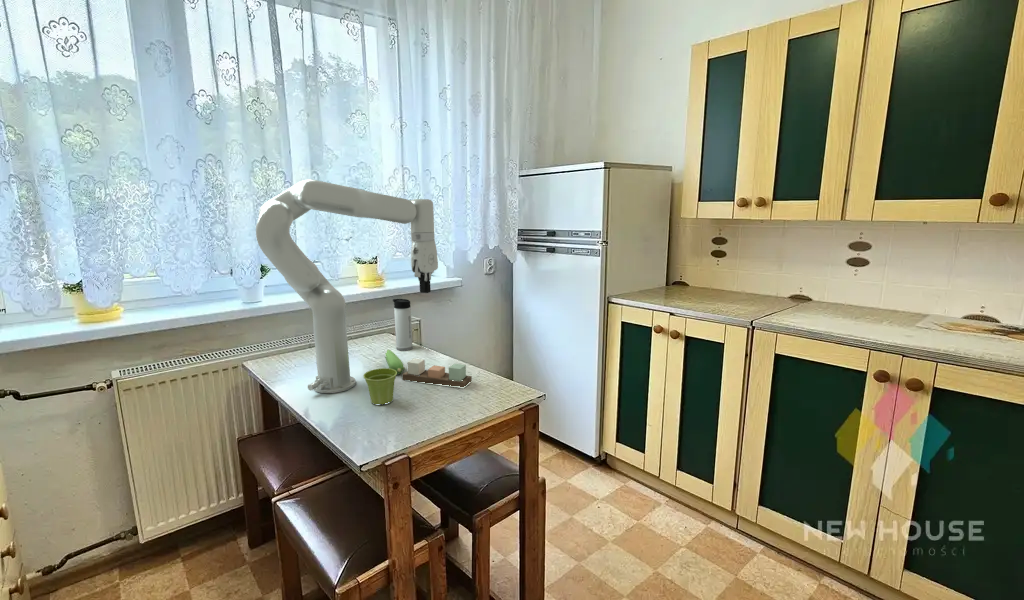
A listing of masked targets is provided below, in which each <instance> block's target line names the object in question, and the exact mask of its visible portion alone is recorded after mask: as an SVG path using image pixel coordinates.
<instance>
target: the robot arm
mask: <svg viewBox="0 0 1024 600" xmlns="http://www.w3.org/2000/svg"><path fill="white" fill-rule="evenodd" d="M311 210H313V211H319V212H325V213H330V214H335V215H336V214H338V215H342V216H348V217H354V218H364V219H365V218H366V219H374V220H382V221H388V222H393V223H396V224H397V223H398V224H403V225H405V224H406V225H407V224H410V237H411V238H410V241H411V249H410V250H411V251H410V266H411V271H412V273H414V275H413V277H415V278H417V279H418V282H419V292H420V294H421V293H423V294H424V293H425V294H429V293H431V291H432V289H431V280H432V274H433V273H435V271H437V270H438V268H439V261H438V251H437V245H436V240H435V217H434V215H435V214H434V212H435V211H434V202H433V200H432V199H425V198H424V199H423V198H420V199H419V198H417V199H416V198H415V199H412V200H411V199H407V198H403V197H397V196H393V195H388V194H383V193H379V192H378V193H376V192H372V191H368V190H365V189H361V188H358V187H357V188H356V187H353V186H347V185H342V184H336V183H333V182H326V181H322V180H316V179H302V180H300V181H298V182H296V183H295V184H294V185H292V186H291V187H289V188H287V189H286V190H284V191H283V192H281V193H280V194H278V195H276V196H274V197H273V198H271V199H268V200H267V201H265V202H264V203H263V204H262V205H261V206H260V208H259V209H258V219H257V222H256V225H255V235H256V237H255V238H256V241H257V243H258V246H259V248H260V250H261V251H262V253H263V254H264V256H265V257H266V258H267V259H268V260H269V261H270V262H271V264H272V265H273V266H274V267H275V269H276V270H277V271H278V272H279V273H280V274H281V276H282V277H284V279H285V281H286V282H287V284H288V285H289V286H290V287H291V288H292V289H293V290H294V291H295V292H296V294H298V296H300V298H302V300H303V301H304V303H306V304H307V306H309V307H310V309H311V312H312V313H311V314H312V328H313V339H314V340H313V341H314V348H315V349H314V350H315V359H316V370H317V376H315V380H314V381H313V382H311V383H309V384H308V385H307V389H308V390H309V391H311V392H312V391H315V392H316V393H322V394H337V393H341V392H344V391H345V392H346V391H348V390H350V389H352V388H353V387H355V385H356V383H357V382H356V378H354V377H353V376H351V371H350V358H349V357H350V356H349V346H348V343H349V342H348V334H347V333H348V332H347V304H346V303H347V302H346V300H345V298H344V295H343V294H342V293H341V292H340V291H339V290H338V289H337V288H335V286H333V285H332V283H330V282H329V280H328V279H327V278H326V277H325V275H324V274H323V273H322V272H321V271H320V270H319V268H318V267H317V265H316V264H315V263H314V262H313V261H312V260H311V259H309V257H307V255H306V254H305V253H304V252H303V251H302V250H301V248H300V247H299V246H298V245H297V243H296V242H295V241H294V240H293V239H292V236H291V233H290V228H291V226H292V224H293V222H294V221H296V220H298V219H299V218H300V217H302V216H303V215H305V214H306V213H308V212H310V211H311Z"/></svg>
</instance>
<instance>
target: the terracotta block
mask: <svg viewBox="0 0 1024 600" xmlns="http://www.w3.org/2000/svg"><path fill="white" fill-rule="evenodd" d="M427 370H428V377H431V378H438V379H440V378H442V377H443V376H444V375H445V373H446V367H445V366H443V365H442V366H441V365H432V366H431V367H430V368H428V369H427Z"/></svg>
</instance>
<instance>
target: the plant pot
mask: <svg viewBox="0 0 1024 600" xmlns="http://www.w3.org/2000/svg"><path fill="white" fill-rule="evenodd" d="M362 377H363V379H365V382H366V385H367V389H368V393H369V397H370V402H371V404H372V403H374V404H382V405H383V404H385V403H388V402H391V401H392V400H393V401H394V391H395V380H396V377H397V371H396V370H394V369H389V367H388V368H387V367H383V368H375V369H371V370H368V371H366V372H364V373H363V376H362ZM393 401H392V402H393ZM392 402H391V403H392ZM374 404H373V405H374Z"/></svg>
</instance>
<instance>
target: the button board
mask: <svg viewBox="0 0 1024 600" xmlns="http://www.w3.org/2000/svg"><path fill="white" fill-rule="evenodd" d="M401 374H402V375H401V376H402V381H405V380H410V381H409V382H412V381H417V382H416V383H419V382H425V383H424V384H426V383H433V384H442V385H449V386H450V385H451V386H460V387H464V386H466V385H467V384H468V383H469V382H471V381H472V375H466V377H465V378H464V379H463V381H455V380H454V381H452V380H449V372H445V375H444V376H443V377H442V378H440V379H438V378H431V377H428V369H425V371H424V372H423V373H421V374H420V376H419V375H413V374H408V370H407V371H405V372H404V373H401ZM472 382H473V381H472ZM472 382H471V383H472ZM433 384H432V385H433Z"/></svg>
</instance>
